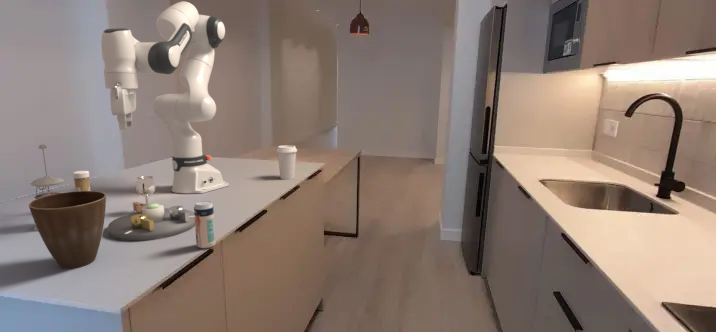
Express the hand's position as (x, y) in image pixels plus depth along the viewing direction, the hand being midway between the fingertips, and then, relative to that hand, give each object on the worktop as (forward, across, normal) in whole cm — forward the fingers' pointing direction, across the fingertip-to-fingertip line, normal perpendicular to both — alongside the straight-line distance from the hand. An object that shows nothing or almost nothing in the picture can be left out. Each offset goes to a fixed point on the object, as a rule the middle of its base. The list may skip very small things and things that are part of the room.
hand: (126, 127), depth 128 cm
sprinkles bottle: (+29, +13, +17) cm, 36 cm away
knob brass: (+27, -20, -5) cm, 34 cm away
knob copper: (+27, -4, -3) cm, 27 cm away
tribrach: (+29, -12, -7) cm, 32 cm away
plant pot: (+29, -34, +8) cm, 46 cm away
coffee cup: (+29, +41, -58) cm, 77 cm away
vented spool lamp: (+29, -1, +22) cm, 37 cm away
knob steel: (+27, -14, -15) cm, 34 cm away
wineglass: (+29, +4, -3) cm, 30 cm away
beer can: (+29, -34, -22) cm, 50 cm away
